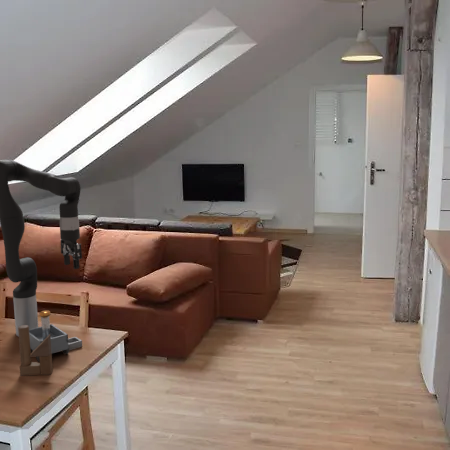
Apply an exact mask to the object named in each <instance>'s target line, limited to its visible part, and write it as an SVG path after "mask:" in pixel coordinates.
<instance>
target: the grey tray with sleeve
mask: <svg viewBox="0 0 450 450" xmlns="http://www.w3.org/2000/svg"><path fill="white" fill-rule="evenodd" d="M29 335H30V349H31V353H32V352H33V351H34V350H35V349H36V348H37V347H38V346H39V345H40V344H41V343H42V342H43V341H44V340H43V337H42V326H38V328H34V329H30V330H29ZM50 335H51V353H52V354H55V353H59V352H62V353H63V355H68V354H70V351H72V350H74V349H75V350H76V349H79V348H82V347H83V340H82V339H80V338H78V337H77V336H72V337H69V334H68V333H67V332H65V331H64V330H61V329H60V328H59V327H57V326H56V325H54V324H53V323H50ZM39 357H40V356H39ZM39 357H35V358H36V362H38V363H40V358H39Z"/></svg>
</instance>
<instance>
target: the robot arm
mask: <svg viewBox="0 0 450 450" xmlns="http://www.w3.org/2000/svg"><path fill="white" fill-rule="evenodd" d="M13 181H18V182H25V183H28V184H30V185H31V186H33V187H35V188H37V189H40V190H44V191H48V192H50V193H52V194H54V195H55V196H59V197H64V200H63V201H62V202H61V203H60V204H59V207H58V208H59V235H60V237H59V238H60V253H61V255H62V256H63V262H64V265H65V266H69V265H70V264H71V259H70V258H71V257H72V260H73V261H72V265H73V269H74V270H78V269H80V260H82V259H83V255H82V254H83V252H82V243H78V242H77V240H79V239H80V238H81V234H80V233H81V232H80V219H79V211H78V210H79V209H78V207H79V201H80V197H81V184H80V182H79V180H78V179H77V178H76V177H73V176H72V177H64V178H62V177H61V178H60V177H58V176H57V175H55V174H53V173H49V172H46V171H43V170H39V169H34V168H31V167H28V166H26V165H23V164H22V163H20V162H19V161H18V162H17V161H16V160H13V159H0V228H1V234H2V239H3V246H4V256H5V268H6V269H5V271H6V275H7V277H8V279H9V280H10V282H12V283H19V284H18V285H17V286H16V287H14V288H13V290H12V299H13V300H12V301H13V310H14V313H13V314H14V323H15V325H14V326H15V335H16V337H19V333H18V327H19V326H22V325H28V326H29V330H30V329H34V328H38V327H39V318H38V316H39V315H38V303H37V288H38V268H37V264H36V262H35V260H34V259H33V258H31V257H28V256H27V257H23V258H20V244H21V241H22V240H23V236H24V233H25V227H26V226H25V219H24V213H23V210H22V209H21V206H20V205H19V204H18V202H17V201H16V200H15V199H14V197H13V196H12V193H11V190H10V187H9V182H13Z"/></svg>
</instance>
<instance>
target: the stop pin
mask: <svg viewBox="0 0 450 450" xmlns="http://www.w3.org/2000/svg"><path fill="white" fill-rule="evenodd" d="M38 313H39V317H40V322H41V327H42V337H43V340H45V339H46V338H47V336H48V335H49V334H50V324H51V321H50V316H51V311H50V310H42V311H39V312H38ZM50 337H51V335H50Z"/></svg>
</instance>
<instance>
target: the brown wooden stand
mask: <svg viewBox="0 0 450 450" xmlns="http://www.w3.org/2000/svg"><path fill="white" fill-rule="evenodd" d="M18 333H19V336H18V345H19V357H20V358H19V359H20V365H19V376H21V377H22V376H24V377H25V376H46V375H47V376H49V375H50V376H51V375H52V373H53V371H54V369H53V358H52V357H53V353H51V337H50V334H49V335H48V336H47V338H46V339H45V340H44V341H43V342H42V343H41V344H40V345H39V346H38V347H37V348H36V349H35V350H34V351H33V352H32V353H31V349H30V335H29V326H28V325H22V326H19V327H18ZM39 356H40V357H39ZM32 357H33V358H34V357H35V358H36V357H39V358H40V362H38V361H32Z"/></svg>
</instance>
